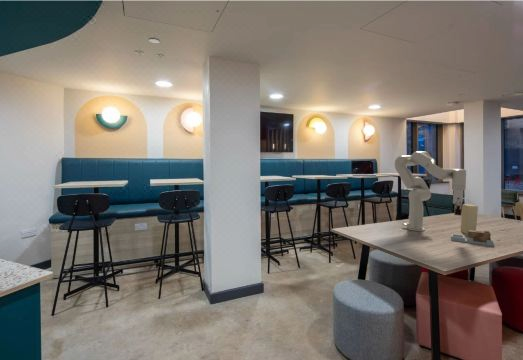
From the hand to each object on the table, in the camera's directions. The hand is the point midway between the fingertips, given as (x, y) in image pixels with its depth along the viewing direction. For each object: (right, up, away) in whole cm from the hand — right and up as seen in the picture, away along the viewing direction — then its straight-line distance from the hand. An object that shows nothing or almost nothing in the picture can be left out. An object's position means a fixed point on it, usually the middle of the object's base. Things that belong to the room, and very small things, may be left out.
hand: (457, 213), depth 189 cm
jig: (+7, -18, -3) cm, 20 cm away
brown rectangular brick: (0, -1, 0) cm, 1 cm away
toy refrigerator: (+21, -17, +18) cm, 32 cm away
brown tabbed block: (+11, -17, -4) cm, 21 cm away
